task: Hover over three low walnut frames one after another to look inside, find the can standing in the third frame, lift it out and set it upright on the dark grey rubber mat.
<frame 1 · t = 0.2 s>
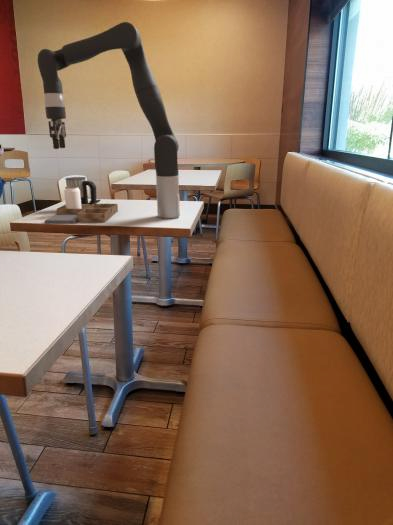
hand: (59, 148, 167), 28 cm above the table, tool pointing down, fingers open, 8 cm apart
milk frother: (84, 208, 194), on the table
frame b: (95, 219, 169), on the table
frame a: (102, 213, 181), on the table
mat: (65, 220, 168), on the table
can: (74, 214, 179), resting in frame c
frame c: (74, 214, 179), on the table
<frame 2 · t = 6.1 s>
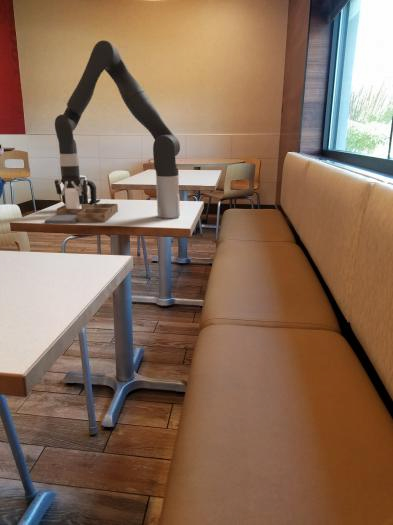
hand: (73, 203, 178), 5 cm above the table, tool pointing down, fingers closed on can, 6 cm apart
can: (74, 214, 179), resting in frame c, touching gripper
everything else where it was.
when the fingers open (7 cm above the table, at t = 11.1 s): can drops 1 cm, resting on mat.
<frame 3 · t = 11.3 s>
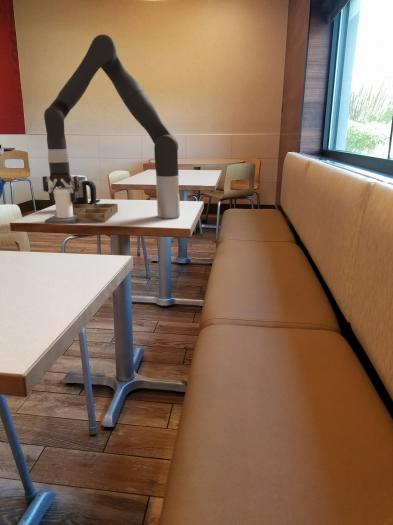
hand: (63, 202, 165), 8 cm above the table, tool pointing down, fingers open, 8 cm apart
can: (65, 217, 167), point 1 cm above the table, touching mat
everything else where it was.
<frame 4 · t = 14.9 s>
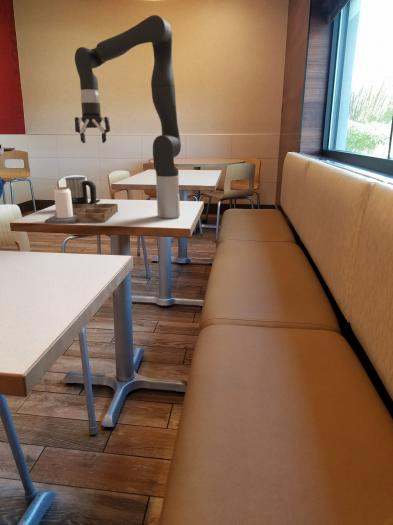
hand: (93, 142, 173), 30 cm above the table, tool pointing down, fingers open, 8 cm apart
nothing on the table moved.
at the end: can inside the target area on the mat (0.2 cm from its centre), point 1.0 cm above the mat's base; can tilted 0°; the gripper is holding nothing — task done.
